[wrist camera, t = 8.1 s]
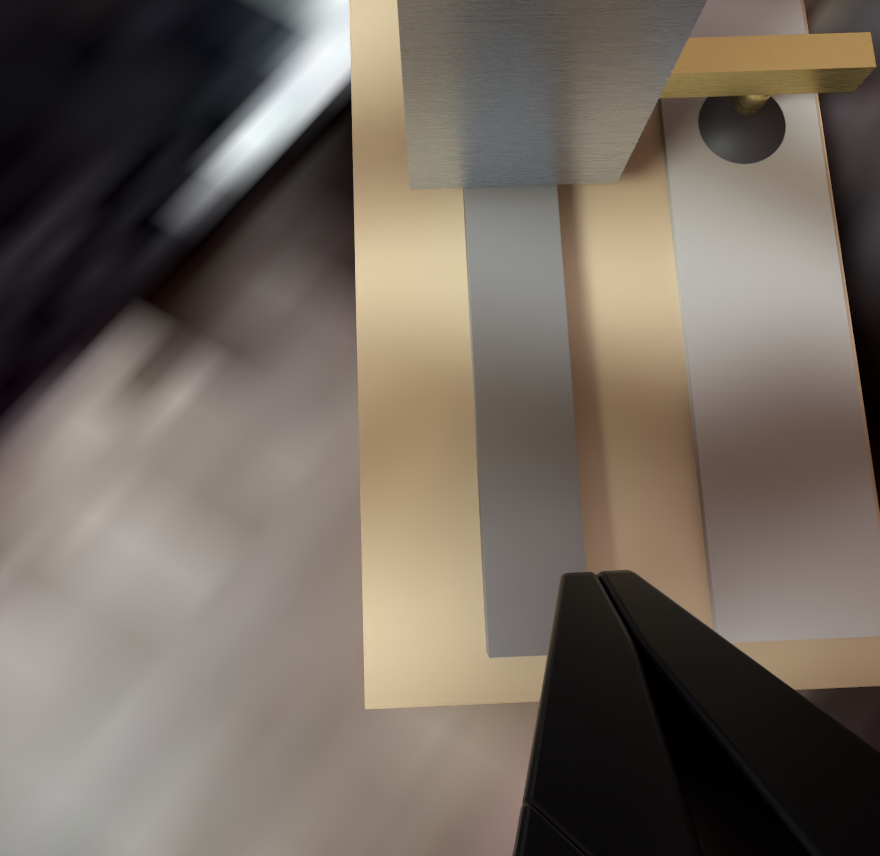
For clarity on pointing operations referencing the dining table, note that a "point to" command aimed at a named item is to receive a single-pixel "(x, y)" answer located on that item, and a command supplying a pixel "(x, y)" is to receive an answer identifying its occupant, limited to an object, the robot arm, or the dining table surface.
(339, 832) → the dining table surface
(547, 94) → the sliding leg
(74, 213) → the dining table surface
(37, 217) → the dining table surface
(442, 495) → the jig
